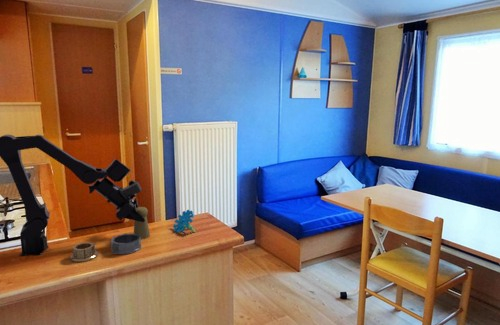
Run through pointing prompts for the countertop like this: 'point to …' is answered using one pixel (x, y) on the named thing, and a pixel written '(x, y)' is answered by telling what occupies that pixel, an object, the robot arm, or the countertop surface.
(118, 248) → the fitting collar
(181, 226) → the gear
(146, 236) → the cork
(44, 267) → the countertop surface
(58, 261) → the countertop surface
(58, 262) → the countertop surface
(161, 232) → the countertop surface
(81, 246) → the small collar
